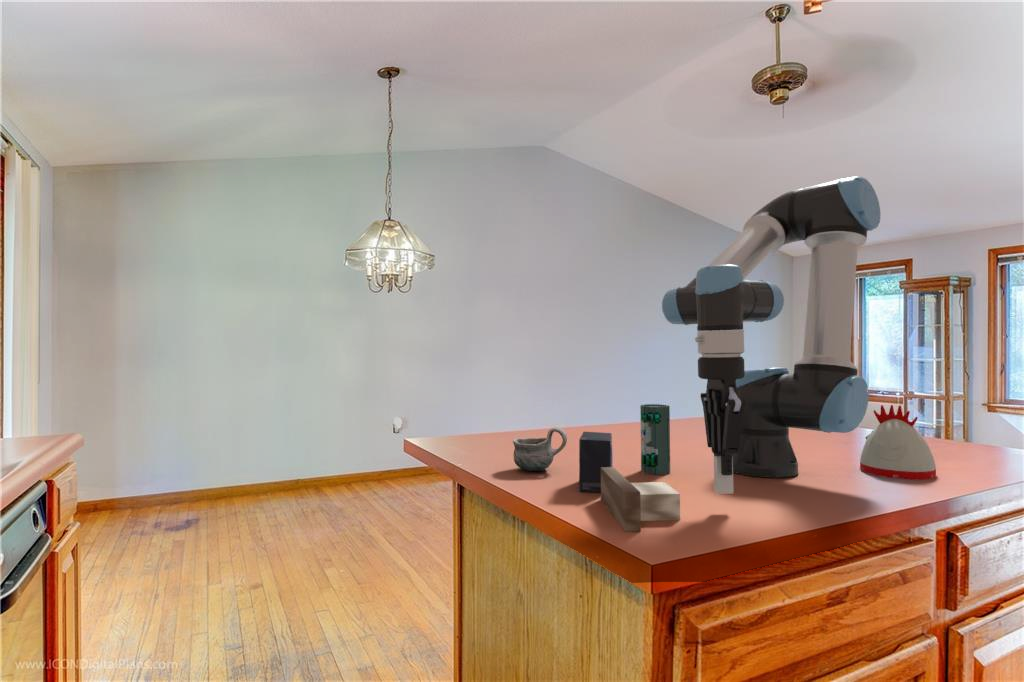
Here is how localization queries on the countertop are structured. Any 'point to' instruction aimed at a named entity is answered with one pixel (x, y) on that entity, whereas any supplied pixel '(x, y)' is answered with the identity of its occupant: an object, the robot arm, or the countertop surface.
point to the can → (655, 439)
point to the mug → (537, 451)
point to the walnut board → (621, 499)
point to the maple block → (658, 501)
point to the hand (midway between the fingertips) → (723, 492)
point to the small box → (593, 459)
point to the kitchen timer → (897, 449)
